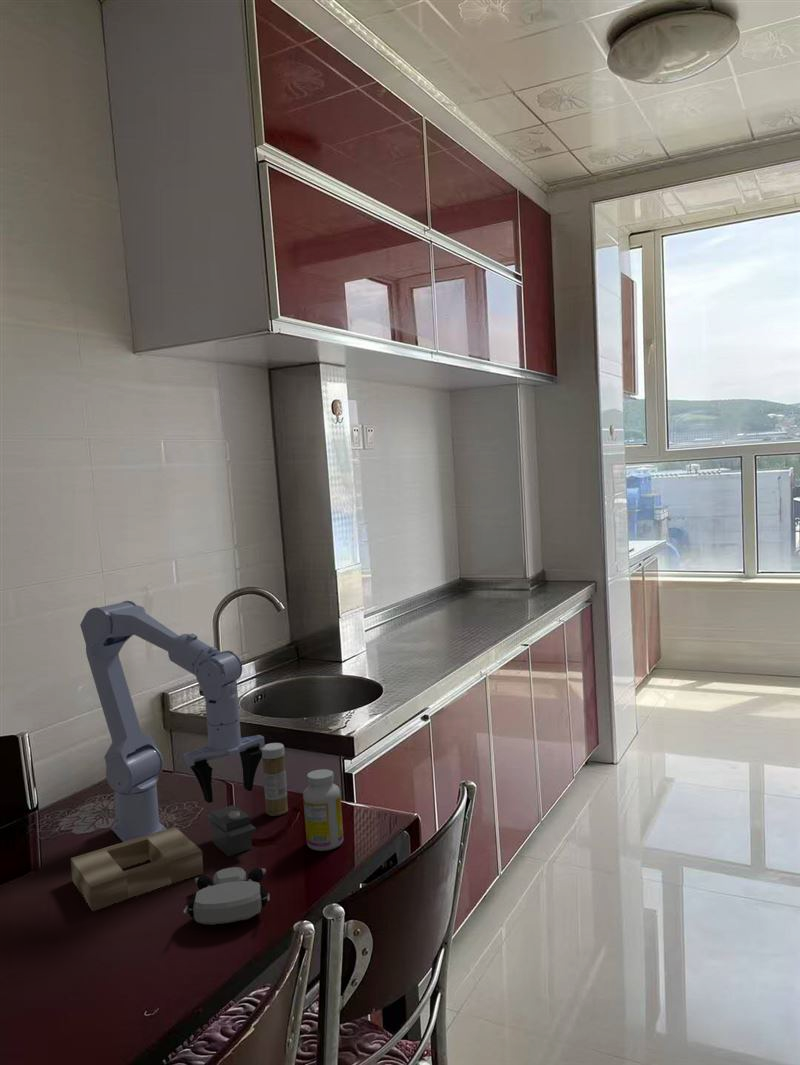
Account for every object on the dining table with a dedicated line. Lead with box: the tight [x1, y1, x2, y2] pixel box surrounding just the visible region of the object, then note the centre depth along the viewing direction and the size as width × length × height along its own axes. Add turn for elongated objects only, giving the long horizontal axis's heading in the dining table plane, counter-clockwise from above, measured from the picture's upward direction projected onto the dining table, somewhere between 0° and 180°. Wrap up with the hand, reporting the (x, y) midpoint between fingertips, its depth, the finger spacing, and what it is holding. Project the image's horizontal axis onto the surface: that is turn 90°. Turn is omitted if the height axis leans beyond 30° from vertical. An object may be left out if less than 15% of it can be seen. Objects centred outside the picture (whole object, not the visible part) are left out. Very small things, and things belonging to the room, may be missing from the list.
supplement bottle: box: [302, 768, 344, 852], centre depth 141 cm, size 7×7×13 cm
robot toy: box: [183, 866, 271, 926], centre depth 121 cm, size 12×4×15 cm
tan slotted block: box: [70, 826, 204, 912], centre depth 132 cm, size 13×18×4 cm
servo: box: [205, 804, 257, 857], centre depth 142 cm, size 12×4×7 cm, turn 36°
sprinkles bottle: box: [260, 742, 289, 817], centre depth 156 cm, size 5×5×14 cm
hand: (228, 795), depth 142 cm, fingers open, 7 cm apart
